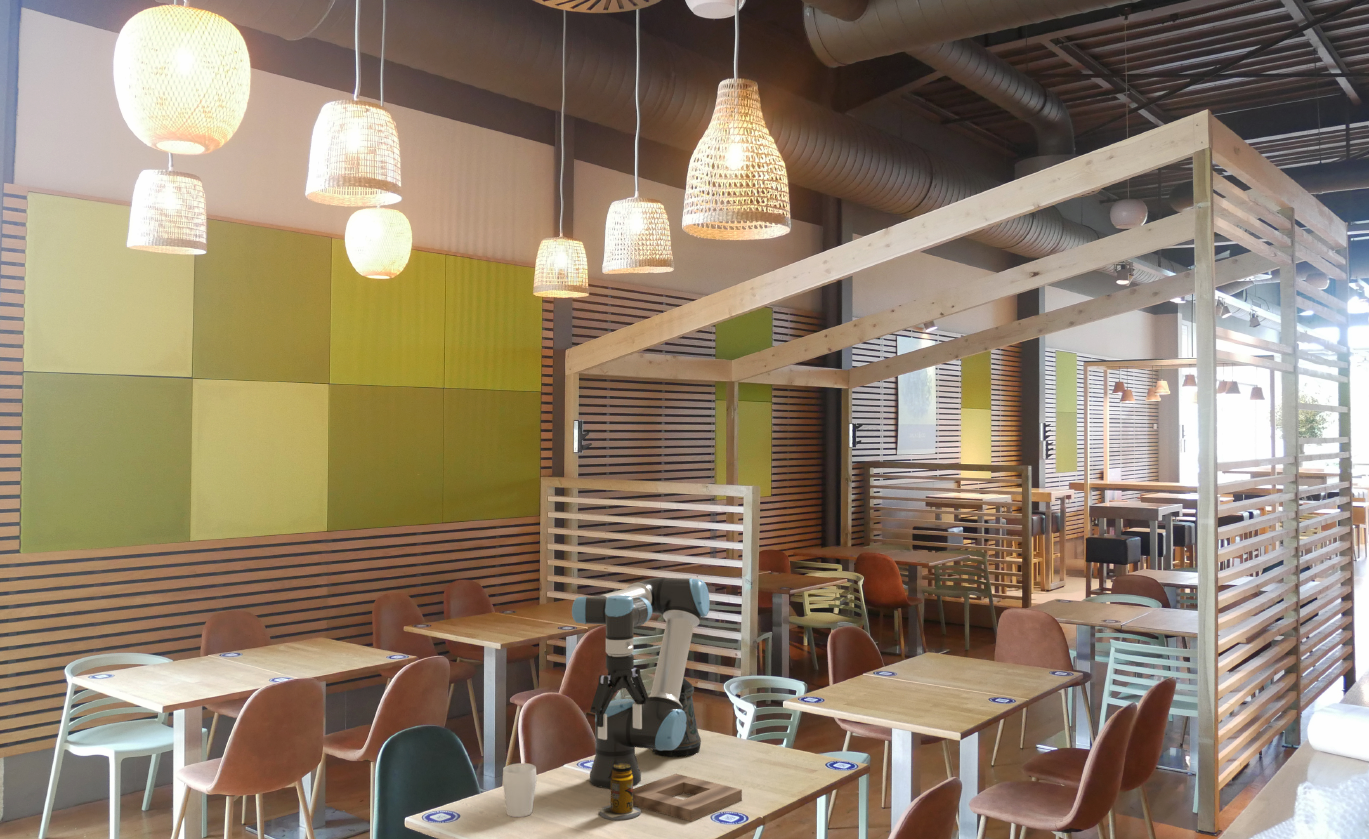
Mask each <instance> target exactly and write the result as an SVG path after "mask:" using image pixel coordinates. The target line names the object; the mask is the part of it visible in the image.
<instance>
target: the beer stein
mask: <svg viewBox="0 0 1369 839" xmlns="http://www.w3.org/2000/svg"><path fill="white" fill-rule="evenodd" d="M694 691H695V686H693V684H692V683H691V682H689V681H688V679H686V678H685V677H683V682H682V687H681V692H680V697H679V702H680V703H681V705H682V710H683V711H684V712H685V714H686V730H685V734H684V737H683V739H682V741H681V743H680V745H679V746H678V747H677V748H675V749H674V750H662V751H661V750H656V749H651V751H652V753H653V754H654V755H657V756H660V757H665V758H685V756H686V757H691V756H694V754H695V755H696V753H697V754H699V752H700V750H701V745H702V740H701V736H700V734H699V730H698V726H697V720H696V713H695V707H694V701H693V694H694Z"/></svg>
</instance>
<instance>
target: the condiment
mask: <svg viewBox="0 0 1369 839" xmlns="http://www.w3.org/2000/svg"><path fill="white" fill-rule="evenodd" d="M631 769H632V767H631V765H629V764H625V763H624V764H623V763H621V764H615V765H613V767H612V776H611V788H610V805H611V807H609V808H605V809H602V808H601V809H598V812H600V811H601V812H602V813H604V814H606V815H608V816H609V817H611V818H613V817H617V816H621V815H628V814H633V813H637V812H639V811H637V810H635V809H633V806H634V805H633V789H634V785H633V776H632V774H631V773H632V771H631Z"/></svg>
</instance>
